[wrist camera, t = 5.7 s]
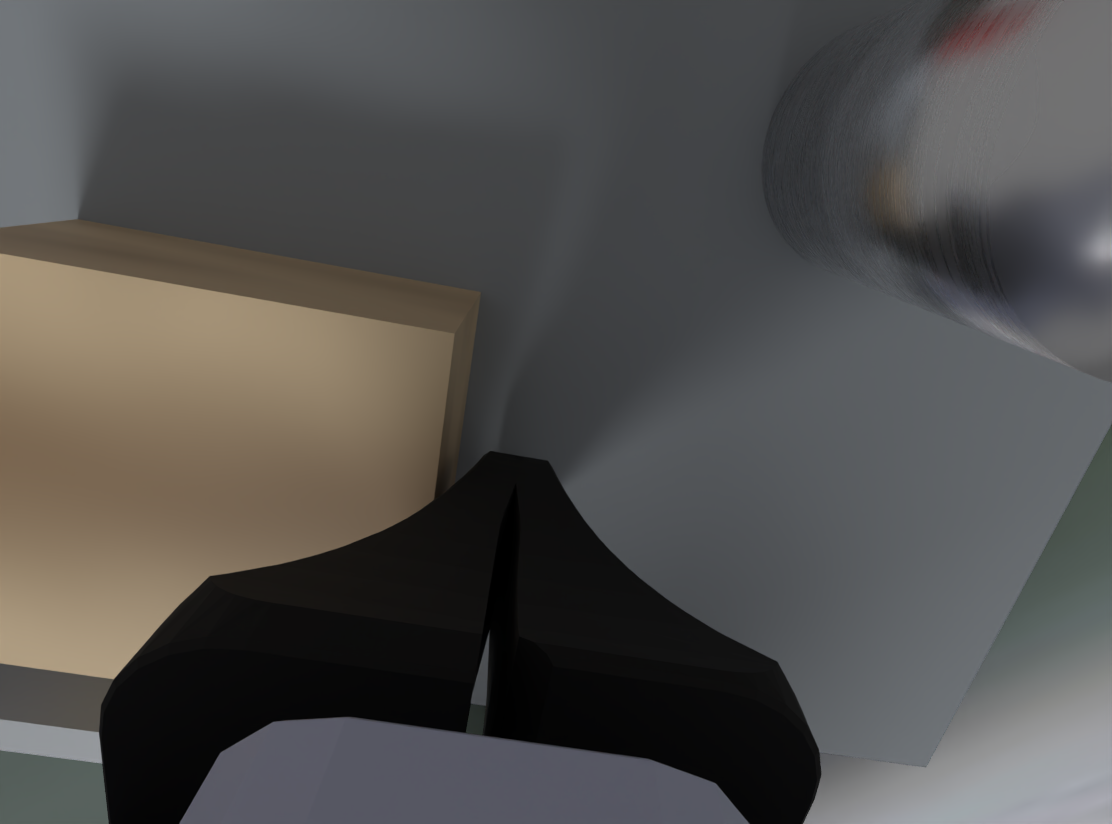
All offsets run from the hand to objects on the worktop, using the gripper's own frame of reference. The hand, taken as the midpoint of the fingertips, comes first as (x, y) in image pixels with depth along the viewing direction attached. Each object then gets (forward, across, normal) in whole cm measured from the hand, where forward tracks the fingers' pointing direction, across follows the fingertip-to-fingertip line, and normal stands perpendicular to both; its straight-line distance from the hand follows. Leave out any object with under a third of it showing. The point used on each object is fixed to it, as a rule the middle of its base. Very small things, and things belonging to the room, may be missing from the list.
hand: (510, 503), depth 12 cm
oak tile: (+1, +5, 0) cm, 5 cm away
